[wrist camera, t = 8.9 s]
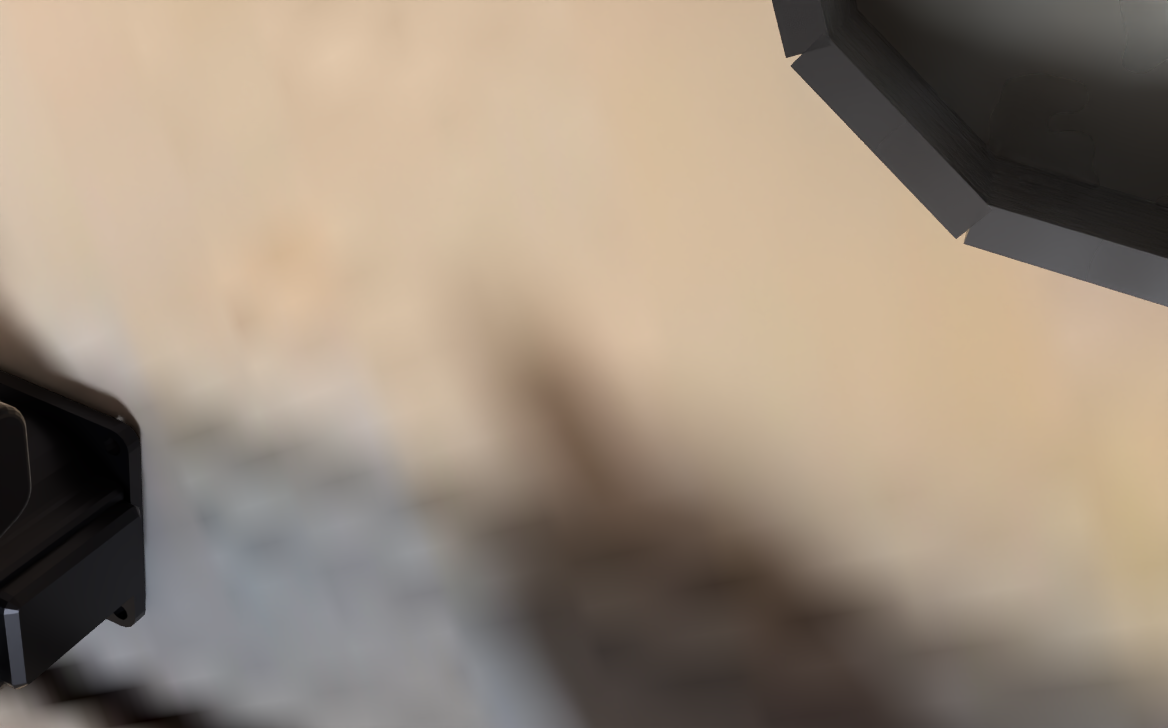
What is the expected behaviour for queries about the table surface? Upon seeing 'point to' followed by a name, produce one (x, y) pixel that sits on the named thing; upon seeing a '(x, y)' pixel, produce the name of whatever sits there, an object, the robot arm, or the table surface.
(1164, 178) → the tin
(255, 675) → the table surface
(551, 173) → the table surface
